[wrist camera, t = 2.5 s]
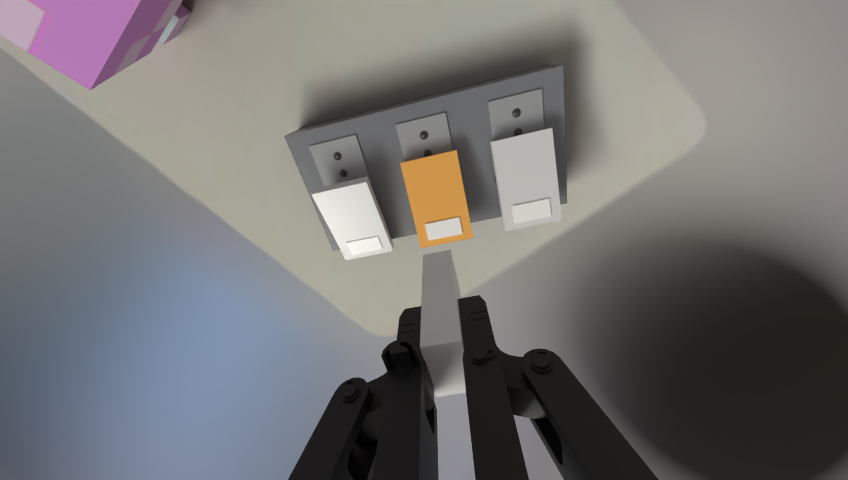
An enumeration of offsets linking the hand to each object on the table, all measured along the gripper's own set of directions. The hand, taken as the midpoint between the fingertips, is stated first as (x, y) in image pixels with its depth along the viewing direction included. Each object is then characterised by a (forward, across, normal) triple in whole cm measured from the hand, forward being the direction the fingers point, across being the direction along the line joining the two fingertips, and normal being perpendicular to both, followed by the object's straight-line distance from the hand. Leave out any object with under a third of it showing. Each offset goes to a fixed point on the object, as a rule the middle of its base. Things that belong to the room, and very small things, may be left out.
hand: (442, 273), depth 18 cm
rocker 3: (+14, +8, -1) cm, 16 cm away
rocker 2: (+14, 0, -1) cm, 14 cm away
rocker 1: (+14, -8, -1) cm, 16 cm away
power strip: (+18, 0, +2) cm, 18 cm away
